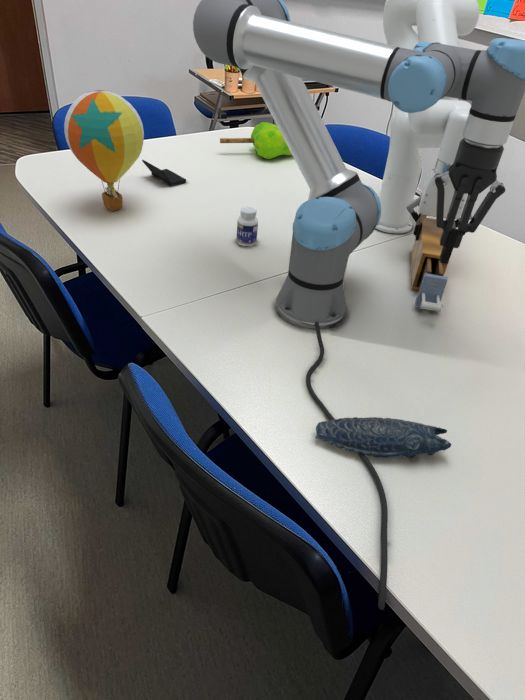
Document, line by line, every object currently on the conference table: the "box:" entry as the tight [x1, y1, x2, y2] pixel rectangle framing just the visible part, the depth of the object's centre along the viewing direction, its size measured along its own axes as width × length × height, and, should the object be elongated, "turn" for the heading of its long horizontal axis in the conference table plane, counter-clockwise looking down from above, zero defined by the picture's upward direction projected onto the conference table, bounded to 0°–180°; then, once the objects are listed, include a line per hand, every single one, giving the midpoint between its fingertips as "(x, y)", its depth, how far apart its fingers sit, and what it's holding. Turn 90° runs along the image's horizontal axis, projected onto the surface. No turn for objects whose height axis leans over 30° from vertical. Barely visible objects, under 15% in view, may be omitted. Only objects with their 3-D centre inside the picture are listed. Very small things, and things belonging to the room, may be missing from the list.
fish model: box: [315, 416, 452, 459], centre depth 82 cm, size 7×21×5 cm, turn 84°
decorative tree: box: [219, 121, 293, 160], centre depth 186 cm, size 18×10×30 cm
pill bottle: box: [235, 206, 259, 247], centre depth 132 cm, size 5×5×9 cm
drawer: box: [414, 257, 449, 313], centre depth 118 cm, size 24×5×8 cm, turn 167°
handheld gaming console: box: [141, 159, 187, 187], centre depth 162 cm, size 12×7×10 cm
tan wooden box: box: [410, 217, 449, 292], centre depth 127 cm, size 20×6×10 cm, turn 167°
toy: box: [63, 89, 145, 212], centre depth 136 cm, size 20×20×30 cm
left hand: (443, 260), depth 106 cm, fingers closed
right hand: (430, 239), depth 129 cm, fingers closed on tan wooden box, 6 cm apart
